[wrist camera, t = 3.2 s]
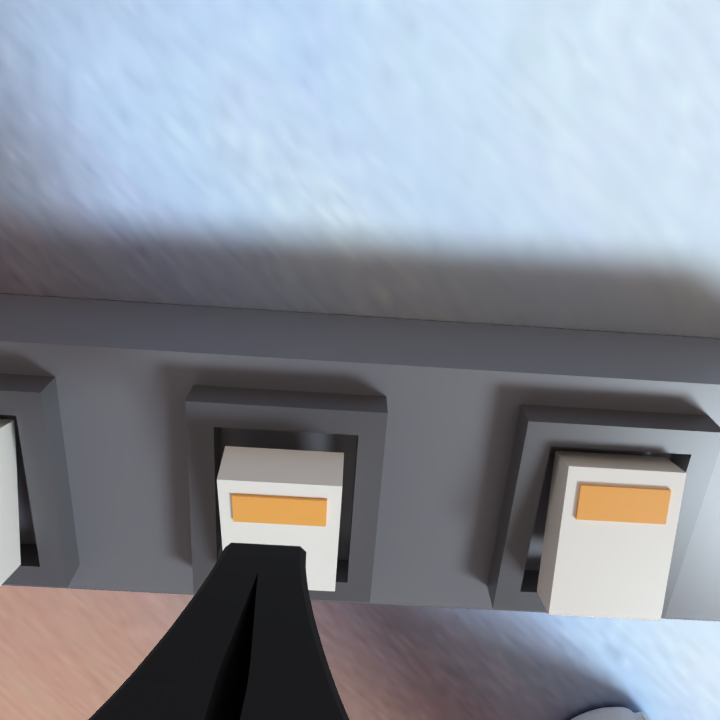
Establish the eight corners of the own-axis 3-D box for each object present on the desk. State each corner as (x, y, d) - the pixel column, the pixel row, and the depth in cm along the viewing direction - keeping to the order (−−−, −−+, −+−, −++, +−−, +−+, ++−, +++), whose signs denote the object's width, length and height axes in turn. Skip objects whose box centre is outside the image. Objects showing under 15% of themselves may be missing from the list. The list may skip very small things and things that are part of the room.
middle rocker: (232, 551, 17) (225, 588, 16) (224, 446, 15) (216, 481, 14) (336, 556, 17) (334, 594, 16) (344, 452, 15) (342, 489, 14)
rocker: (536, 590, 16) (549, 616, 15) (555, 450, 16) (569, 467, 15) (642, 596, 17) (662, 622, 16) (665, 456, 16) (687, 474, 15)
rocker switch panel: (-139, 504, 20) (-241, 596, 17) (-202, 281, 18) (-341, 336, 14) (885, 559, 21) (987, 657, 18) (984, 355, 18) (1128, 424, 15)
